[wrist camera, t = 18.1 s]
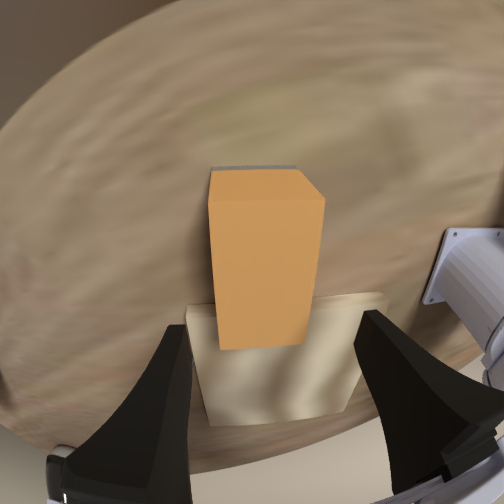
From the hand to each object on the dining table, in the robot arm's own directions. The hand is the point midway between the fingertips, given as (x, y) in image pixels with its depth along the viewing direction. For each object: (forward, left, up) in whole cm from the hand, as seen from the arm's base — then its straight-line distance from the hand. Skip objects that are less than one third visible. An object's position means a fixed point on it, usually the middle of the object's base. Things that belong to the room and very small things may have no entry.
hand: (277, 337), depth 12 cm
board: (-3, +15, -9) cm, 18 cm away
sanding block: (0, 0, -10) cm, 10 cm away
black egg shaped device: (+34, +44, -10) cm, 56 cm away
